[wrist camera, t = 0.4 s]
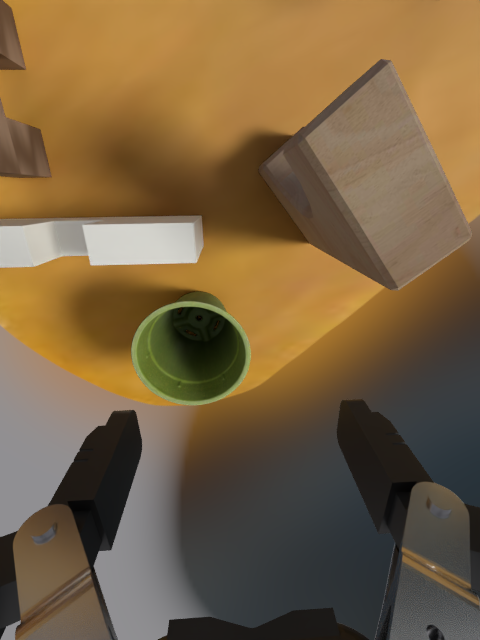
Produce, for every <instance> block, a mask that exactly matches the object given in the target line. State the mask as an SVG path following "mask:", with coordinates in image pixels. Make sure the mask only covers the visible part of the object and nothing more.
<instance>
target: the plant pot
mask: <svg viewBox="0 0 480 640" xmlns="http://www.w3.org/2000/svg"><path fill="white" fill-rule="evenodd" d="M180 307H184V308H183V309H182V312H181V314H178V310H179V309H180ZM197 316H201V317H202V319H201V320H197V318H196V317H197ZM217 321H220V322H219V325H218V327H217V328H216V330H214V327H215V325H216V323H217ZM186 330H189V331H191V332H193V333H194V334H196V336H193V335H190V334H188V333H187V332H186ZM131 357H132V362H133V365H134V368H135V370H136V373H137V374H138V376H139V378H140V379H141V381H142V382H143V383H144V384H145V385H146V387H148V388H149V389H150V390H151V391H152V392H153V393H155V394H156V395H158V396H160V397H161V398H163V399H166V400H168V401H171V402H174V403H178V404H183V405H202V404H208V403H211V402H214V401H217V400H220V399H222V398H224V397H226V396H227V395H229V394H230V393H231V392H233V391H234V390H235V389H236V388H237V387H238V386H239V385H240V384H241V382H242V381H243V379H244V378H245V376H246V374H247V372H248V369H249V364H250V359H251V350H250V344H249V341H248V338H247V335H246V333H245V331H244V330H243V328H242V327H241V325H240V324H239V323H238V322H237V321H236V320H235V319H234V318H233V317H232V316H231V315H230V314H228V313H227V312H226V310H225V308H224V306H223V304H222V303H221V302H220V301H219V300H218V299H217V298H216V297H215V296H213V295H211V294H209V293H206V292H199V291H197V292H191V293H188V294H186V295H184V296H182V297H181V298H180V299H178V300H177V301H176V302H175V303H172V304H168V305H166V306H163V307H161V308H159V309H157V310H155V311H154V312H153V313H151V314H150V315H149V316H148V317H146V318H145V319H144V321H143V322H142V323H141V324H140V326H139V327H138V329H137V331H136V333H135V335H134V338H133V341H132V347H131Z"/></svg>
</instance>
